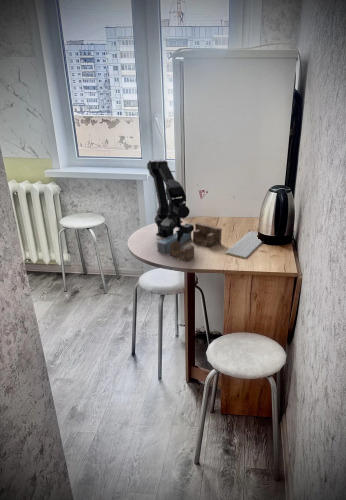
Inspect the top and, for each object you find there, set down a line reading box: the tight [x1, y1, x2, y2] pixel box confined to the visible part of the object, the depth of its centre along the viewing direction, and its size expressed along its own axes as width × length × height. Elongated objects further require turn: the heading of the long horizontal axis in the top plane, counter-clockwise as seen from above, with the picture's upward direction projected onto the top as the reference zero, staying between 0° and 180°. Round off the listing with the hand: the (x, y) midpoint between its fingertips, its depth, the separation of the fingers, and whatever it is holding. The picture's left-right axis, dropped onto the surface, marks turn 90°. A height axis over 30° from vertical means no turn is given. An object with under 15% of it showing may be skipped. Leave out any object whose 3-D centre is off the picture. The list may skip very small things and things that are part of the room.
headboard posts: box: [169, 222, 223, 262], centre depth 184 cm, size 14×26×8 cm, turn 143°
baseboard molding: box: [224, 229, 263, 260], centre depth 190 cm, size 31×3×12 cm
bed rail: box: [156, 232, 192, 254], centre depth 190 cm, size 4×22×4 cm, turn 143°
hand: (174, 241), depth 190 cm, fingers closed on bed rail, 4 cm apart
